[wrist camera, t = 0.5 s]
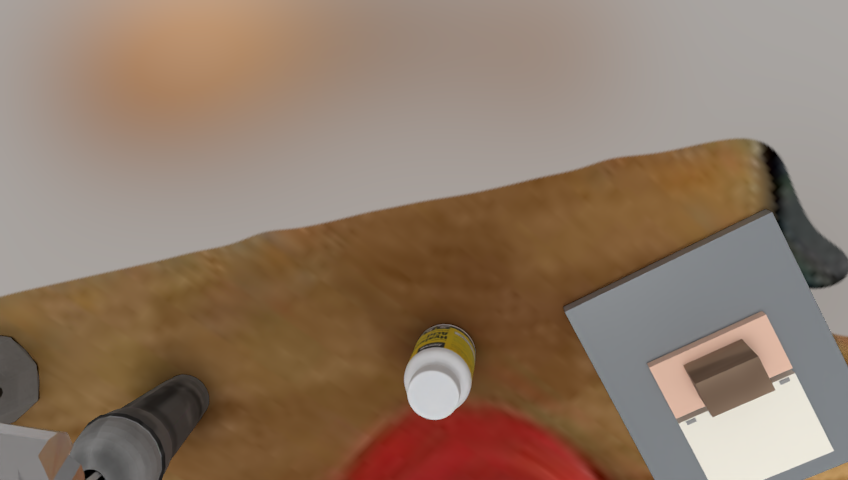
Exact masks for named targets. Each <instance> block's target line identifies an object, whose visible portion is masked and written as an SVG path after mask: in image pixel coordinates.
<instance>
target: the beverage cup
mask: <svg viewBox="0 0 848 480" xmlns="http://www.w3.org/2000/svg"><path fill="white" fill-rule="evenodd" d="M208 405H209V394H208V391H207V389H206V387H205V386H204V384H203V383H202V382H201V381H199V380H198V379H197V378H195V377H193V376H190V375H178V376H175V377H173V378H172V379H170V380H167V381H165V382H163V383H162V384H160V385H158V386H157V387H155V388H154V389H152V390H150V391H149V392H147V393H145V394H144V395H142V396H140V397H139V398H137V399H135V400H134V401H132V402H131V403H129V404H127V405H126V406H124V407H122V408H121V409H117V410H114V411H112V412H109V413H107V414H105V415H100V416H98V417H97V418H95V419H94V420H92V421H91V422H89V423H88V425H87V426H86V427H85V429H84V430H83V431H82V433H81V434H80V436H79V437H78V438H77V440H76V441H75V442H74V444H73V448H72V449H71V452H70V456H71V457H72V458H74V459H75V460H76V461H77V462H79V463H80V464H81V466H82V469H83V471H84V474H85V480H162V477H163V474H164V473H165V471H166V469H167V467H168V465H169V463H170V460H171V459H172V457H173V456H174V455H175V453H176V452H177V451H178V449H179V448H180V447H181V445H182V444H183V442H184V441H185V440H186V438H187V437H188V436H189V434H190V433H191V432H192V430H193V429H194V428H195V426H196V425H197V423H198V422H199V421H200V419H201V418H202V416H203V414H204V413H205V411H206V410H207V408H208Z"/></svg>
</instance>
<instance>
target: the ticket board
mask: <svg viewBox="0 0 848 480" xmlns="http://www.w3.org/2000/svg"><path fill="white" fill-rule="evenodd" d="M564 311H565V314H566V315H567V317H568V319H569V321H570V323H571V325H572V327H573V328H574V330H575V332H576V334H577V336H578V338H579V340H580V342H581V343H582V345H583V347H584V349H585V351H586V353H587V355H588V356H589V358H590V360H591V362H592V364H593V366H594V368H595V370H596V371H597V373H598V375H599V377H600V379H601V381H602V383H603V384H604V386H605V388H606V390H607V392H608V394H609V396H610V398H611V399H612V401H613V403H614V405H615V407H616V409H617V411H618V412H619V414H620V416H621V418H622V420H623V422H624V424H625V425H626V427H627V429H628V431H629V433H630V435H631V437H632V439H633V440H634V442H635V444H636V446H637V448H638V450H639V452H640V453H641V455H642V457H643V459H644V461H645V463H646V465H647V467H648V468H649V470H650V472H651V474H652V476H653V478H654V480H804V479H806V478H809V477H811V476H814V475H816V474H819V473H821V472H824V471H826V470H829V469H831V468H834V467H836V466H839V465H841V464H844V463H846V462H848V366H847V364H846V362H845V360H844V358H843V356H842V354H841V352H840V350H839V348H838V346H837V344H836V342H835V340H834V337H833V335H832V333H831V331H830V329H829V327H828V325H827V323H826V321H825V319H824V317H823V315H822V313H821V311H820V309H819V307H818V305H817V303H816V301H815V299H814V297H813V295H812V293H811V291H810V288H809V286H808V284H807V282H806V280H805V278H804V276H803V274H802V272H801V270H800V268H799V266H798V264H797V262H796V260H795V258H794V256H793V254H792V252H791V250H790V248H789V246H788V244H787V241H786V239H785V237H784V235H783V233H782V231H781V229H780V227H779V225H778V223H777V221H776V219H775V217H774V215H773V213H772V212H771V211H769V210H766V209H765V210H763V211H761V212H759V213H757V214H754V215H752V216H750V217H748V218H746V219H744V220H742V221H740V222H738V223H736V224H734V225H732V226H730V227H728V228H726V229H723V230H721V231H719V232H717V233H715V234H713V235H711V236H709V237H707V238H705V239H703V240H701V241H699V242H697V243H695V244H692V245H690V246H688V247H686V248H684V249H682V250H680V251H678V252H676V253H674V254H672V255H670V256H668V257H666V258H664V259H661V260H659V261H657V262H655V263H653V264H651V265H649V266H647V267H645V268H643V269H641V270H639V271H637V272H635V273H633V274H630V275H628V276H626V277H624V278H622V279H620V280H618V281H616V282H614V283H612V284H610V285H608V286H606V287H604V288H601V289H599V290H597V291H595V292H593V293H591V294H589V295H587V296H585V297H583V298H581V299H579V300H577V301H575V302H573V303H570V304H568V305H566V306H564ZM761 311H763V312H764V313H765V314H766V315H767V317H768V319H769V321H770V323H771V325H772V327H773V329H774V331H775V333H776V335H777V337H778V339H779V341H780V343H781V345H782V347H783V349H784V351H785V353H786V355H787V357H788V359H789V361H790V363H791V365H792V367H793V368H792V369H790V370H787V371H785V372H783V373H781V374H778V375H776V376H774V377H771V378H770V380H771V382H772V384H773V386H774V388H775V391H773V392H770V393H768V394H766V395H763V396H761V397H759V398H756V399H754V400H752V401H749V402H747V403H745V404H742V405H740V406H738V407H736V408H733V409H731V410H729V411H726V412H724V413H722V414H719V415H717V416H715V417H712V416H711V414H710V412H709V411H708V409H707V408H706V406H705V407H703V408H700V409H698V410H696V411H693V412H691V413H689V414H686V415H684V416H682V417H680V418H677V419H676V418H675V416H674V414H673V412H672V410H671V408H670V407H669V405H668V403H667V401H666V399H665V397H664V395H663V393H662V391H661V389H660V388H659V386H658V384H657V382H656V380H655V378H654V376H653V374H652V372H651V370H650V369H649V367H648V365H647V363H649V362H651V361H653V360H655V359H658V358H660V357H662V356H664V355H666V354H669V353H671V352H673V351H675V350H677V349H680V348H682V347H684V346H686V345H688V344H690V343H693V342H695V341H697V340H699V339H701V338H704V337H706V336H708V335H710V334H712V333H715V332H717V331H719V330H721V329H723V328H726V327H728V326H730V325H732V324H734V323H737V322H739V321H741V320H743V319H745V318H748V317H750V316H752V315H754V314H756V313H759V312H761Z"/></svg>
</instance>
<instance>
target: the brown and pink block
mask: <svg viewBox="0 0 848 480" xmlns="http://www.w3.org/2000/svg"><path fill="white" fill-rule="evenodd" d="M647 365H648V367H649V369H650V370H651V372H652V374H653V376H654V378H655V380H656V382H657V384H658V386H659V388H660V389H661V391H662V393H663V395H664V397H665V399H666V401H667V403H668V405H669V407H670V408H671V410H672V412H673V414H674V416H675V418H676V419H677V418H680V417H682V416H684V415H686V414H689V413H691V412H693V411H696V410H698V409H700V408H703V407H705V406H706V408H707V409H708V411H709V412H710V414H711V416H712V417H715V416H717V415H719V414H722V413H724V412H726V411H729V410H731V409H733V408H736V407H738V406H740V405H742V404H745V403H747V402H749V401H752V400H754V399H756V398H759V397H761V396H763V395H766V394H768V393H770V392H773V391H775V388H774V386H773V384H772V382H771V380H770V378H771V377H774V376H776V375H778V374H781V373H783V372H785V371H787V370H790V369H792V368H793V367H792V365H791V363H790V361H789V359H788V357H787V355H786V353H785V351H784V349H783V347H782V345H781V343H780V341H779V339H778V337H777V335H776V333H775V331H774V329H773V327H772V325H771V323H770V321H769V319H768V317H767V315H766V314H765V313H764V312H763V311H761V312H759V313H756V314H754V315H752V316H750V317H748V318H745V319H743V320H741V321H739V322H737V323H734V324H732V325H730V326H728V327H726V328H723V329H721V330H719V331H717V332H715V333H712V334H710V335H708V336H706V337H704V338H701V339H699V340H697V341H695V342H693V343H690V344H688V345H686V346H684V347H682V348H680V349H677V350H675V351H673V352H671V353H669V354H666V355H664V356H662V357H660V358H658V359H655V360H653V361H651V362H649V363H647Z"/></svg>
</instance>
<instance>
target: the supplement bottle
mask: <svg viewBox="0 0 848 480" xmlns="http://www.w3.org/2000/svg"><path fill="white" fill-rule="evenodd" d="M475 360H476V350H475V346H474V343H473V341H472V339H471V338H470V336H469V335H468V334H467V333H466V332H465V331H464V330H462V329H460V328H459V327H457V326H454V325H450V324H440V325H436V326H433V327H431V328H429V329H427V330H426V331H425V332H424V333H423V334H422V335H421V336H420V338H419V339H418V341H417V343H416V346H415V348H414V351H413V353H412V355H411V358H410V360H409V362H408V364H407V367H406V370H405V374H404V385H405V389H406V392H407V397H408V401H409V404H410V406H411V407H412V409H413V410H414V411H415V412H416V413H417V414H418V415H420V416H422V417H424V418H426V419H431V420H439V419H443V418H445V417H447V416H449V415H450V414H452V413H453V412H454V410H455V409H456V408H458V407H459V406H460V405H461V404H462V403H463V402H464V401H465V400H466V398H467V397H468V395H469V392H470V389H471V385H472V378H473V372H474V366H475Z"/></svg>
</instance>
